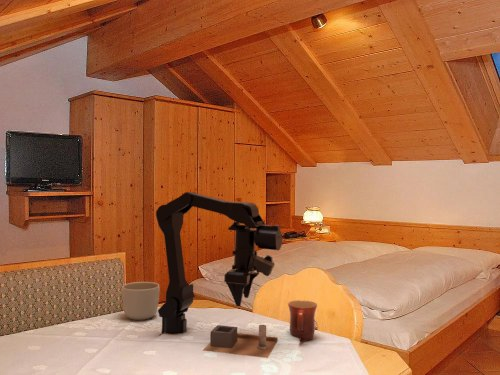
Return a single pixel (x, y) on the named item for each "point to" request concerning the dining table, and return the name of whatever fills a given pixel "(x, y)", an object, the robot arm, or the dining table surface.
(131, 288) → the planter
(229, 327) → the gray square frame
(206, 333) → the dining table surface
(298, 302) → the mug
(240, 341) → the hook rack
